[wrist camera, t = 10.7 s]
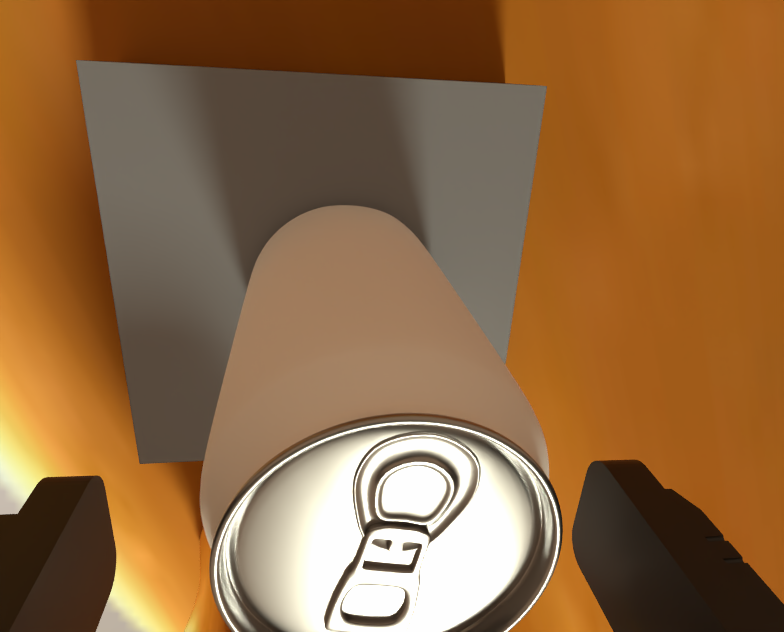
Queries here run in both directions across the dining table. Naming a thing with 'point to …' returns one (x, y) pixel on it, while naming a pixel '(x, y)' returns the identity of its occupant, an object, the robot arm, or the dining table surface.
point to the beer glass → (205, 598)
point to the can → (371, 447)
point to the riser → (285, 203)
